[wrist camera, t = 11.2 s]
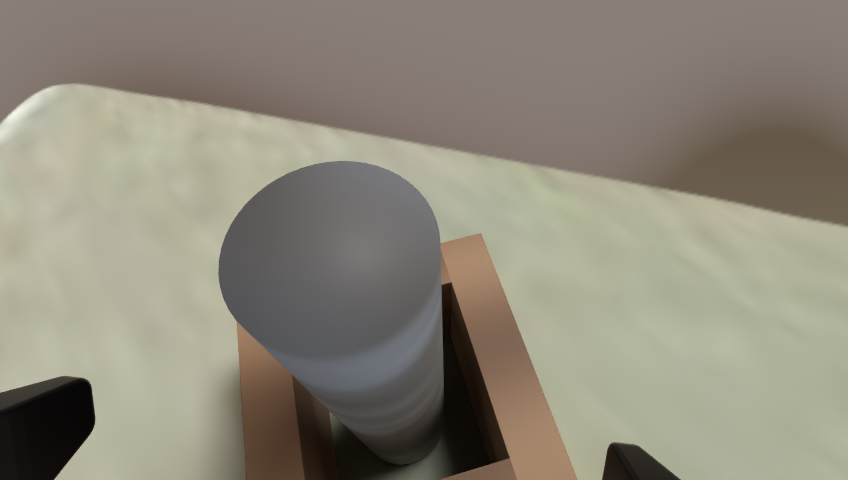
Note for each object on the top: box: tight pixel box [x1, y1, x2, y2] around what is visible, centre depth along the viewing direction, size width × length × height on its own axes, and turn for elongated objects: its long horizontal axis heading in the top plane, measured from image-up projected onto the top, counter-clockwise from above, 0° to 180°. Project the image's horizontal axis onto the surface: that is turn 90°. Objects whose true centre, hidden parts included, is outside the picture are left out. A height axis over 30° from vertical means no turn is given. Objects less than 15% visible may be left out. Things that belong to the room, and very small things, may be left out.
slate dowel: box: [219, 161, 444, 465], centre depth 12 cm, size 3×3×13 cm
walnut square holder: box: [237, 233, 577, 480], centre depth 16 cm, size 8×8×5 cm
